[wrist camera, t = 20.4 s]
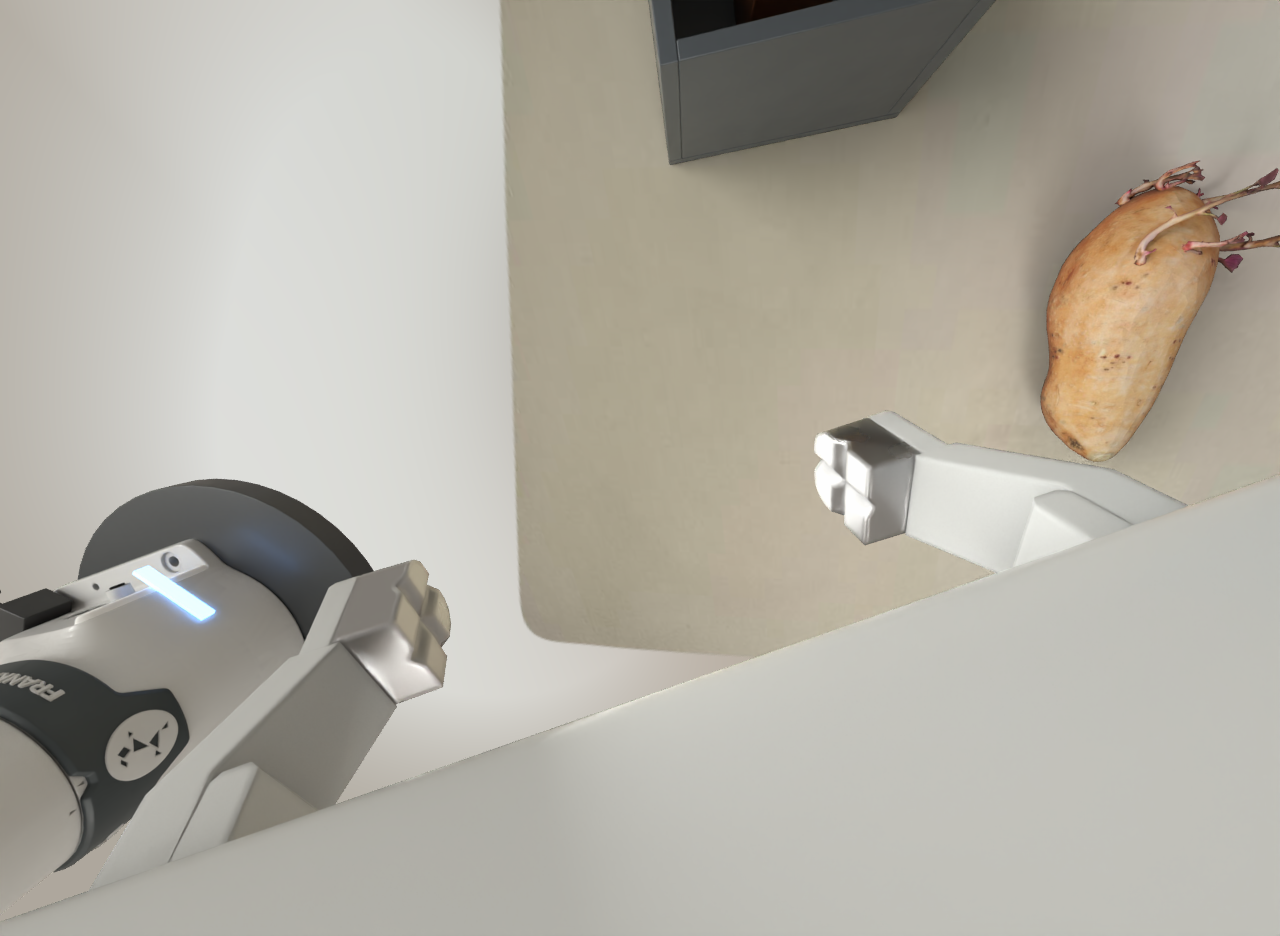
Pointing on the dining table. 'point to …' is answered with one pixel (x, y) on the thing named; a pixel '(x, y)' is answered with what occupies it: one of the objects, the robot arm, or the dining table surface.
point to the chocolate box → (769, 8)
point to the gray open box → (794, 67)
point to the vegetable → (1131, 308)
